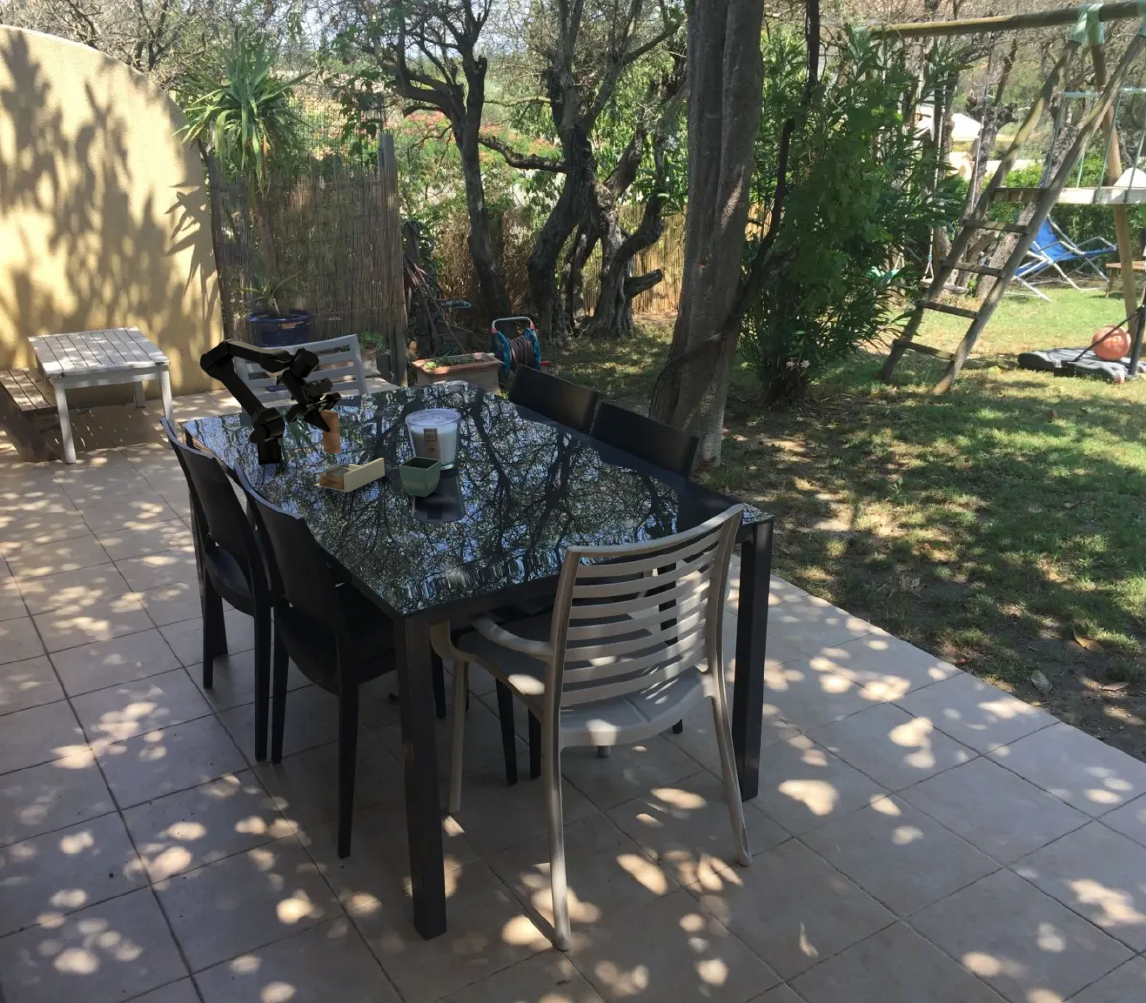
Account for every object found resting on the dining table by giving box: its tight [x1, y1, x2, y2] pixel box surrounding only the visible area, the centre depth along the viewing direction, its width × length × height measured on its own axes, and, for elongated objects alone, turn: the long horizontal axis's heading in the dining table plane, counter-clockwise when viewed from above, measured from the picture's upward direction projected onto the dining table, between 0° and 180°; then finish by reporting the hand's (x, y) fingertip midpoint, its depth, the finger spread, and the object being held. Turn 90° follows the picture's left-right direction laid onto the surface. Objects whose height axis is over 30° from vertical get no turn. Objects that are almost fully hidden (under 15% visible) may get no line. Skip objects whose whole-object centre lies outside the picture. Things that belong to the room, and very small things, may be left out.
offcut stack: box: [318, 465, 348, 491], centre depth 272 cm, size 8×5×5 cm, turn 63°
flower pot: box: [398, 456, 442, 498], centre depth 269 cm, size 9×9×9 cm
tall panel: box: [321, 409, 342, 455], centre depth 281 cm, size 4×2×12 cm, turn 63°
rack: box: [314, 457, 386, 493], centre depth 276 cm, size 12×16×6 cm
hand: (331, 430), depth 280 cm, fingers closed on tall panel, 2 cm apart
